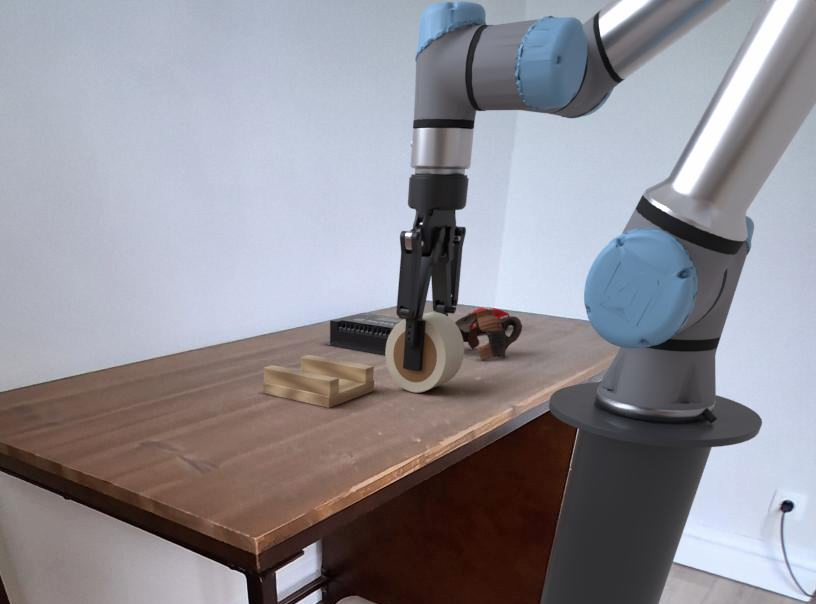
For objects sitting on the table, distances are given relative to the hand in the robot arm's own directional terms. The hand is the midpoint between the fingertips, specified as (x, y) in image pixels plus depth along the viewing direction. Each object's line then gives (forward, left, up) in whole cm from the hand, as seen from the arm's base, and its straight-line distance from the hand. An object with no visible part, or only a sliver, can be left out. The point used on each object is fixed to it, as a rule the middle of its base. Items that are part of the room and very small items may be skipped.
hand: (423, 364), depth 98 cm
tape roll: (0, 0, -3) cm, 3 cm away
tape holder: (+11, +11, -3) cm, 16 cm away
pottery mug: (+3, -27, -4) cm, 27 cm away
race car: (+13, -46, -4) cm, 48 cm away
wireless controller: (+20, -22, -4) cm, 30 cm away
